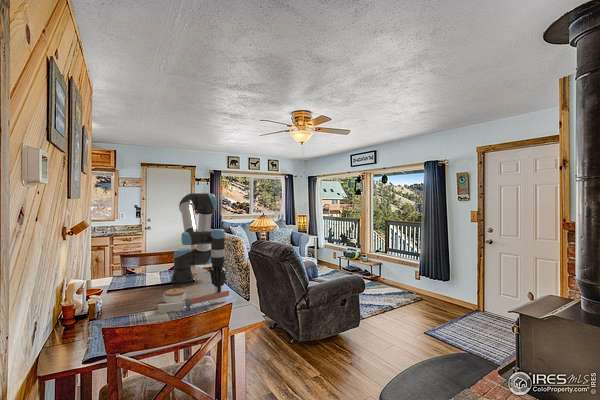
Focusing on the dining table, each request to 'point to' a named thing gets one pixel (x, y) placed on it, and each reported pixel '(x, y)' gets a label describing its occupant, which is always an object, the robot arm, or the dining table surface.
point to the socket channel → (171, 306)
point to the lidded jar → (174, 295)
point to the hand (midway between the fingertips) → (217, 297)
